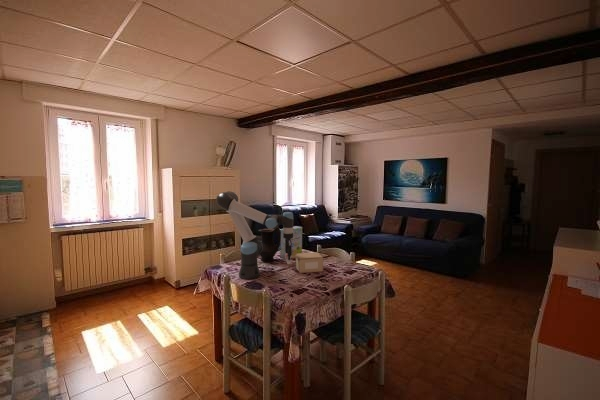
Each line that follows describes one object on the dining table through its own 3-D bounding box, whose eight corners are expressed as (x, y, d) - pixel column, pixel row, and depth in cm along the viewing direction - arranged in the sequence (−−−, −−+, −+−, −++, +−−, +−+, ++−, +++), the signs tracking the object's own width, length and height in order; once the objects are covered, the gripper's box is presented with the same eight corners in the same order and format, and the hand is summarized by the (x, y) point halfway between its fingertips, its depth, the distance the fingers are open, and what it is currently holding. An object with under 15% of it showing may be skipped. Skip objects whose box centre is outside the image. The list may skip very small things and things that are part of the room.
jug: (252, 263, 237) (251, 227, 234) (261, 256, 254) (261, 223, 252) (276, 265, 231) (275, 228, 228) (284, 258, 248) (283, 224, 246)
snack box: (287, 259, 246) (287, 230, 244) (280, 257, 251) (279, 229, 249) (302, 254, 263) (302, 226, 261) (295, 252, 268) (295, 225, 266)
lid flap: (287, 261, 210) (287, 256, 210) (284, 256, 223) (284, 252, 223) (322, 259, 217) (322, 255, 216) (317, 255, 229) (317, 250, 229)
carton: (299, 272, 213) (299, 259, 212) (295, 267, 226) (295, 254, 226) (323, 271, 217) (323, 258, 216) (317, 265, 231) (317, 253, 230)
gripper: (295, 234, 208) (295, 266, 210) (290, 230, 225) (290, 259, 227) (285, 235, 206) (285, 266, 208) (281, 230, 223) (281, 259, 225)
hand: (288, 262), depth 217 cm, fingers closed on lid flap, 5 cm apart
